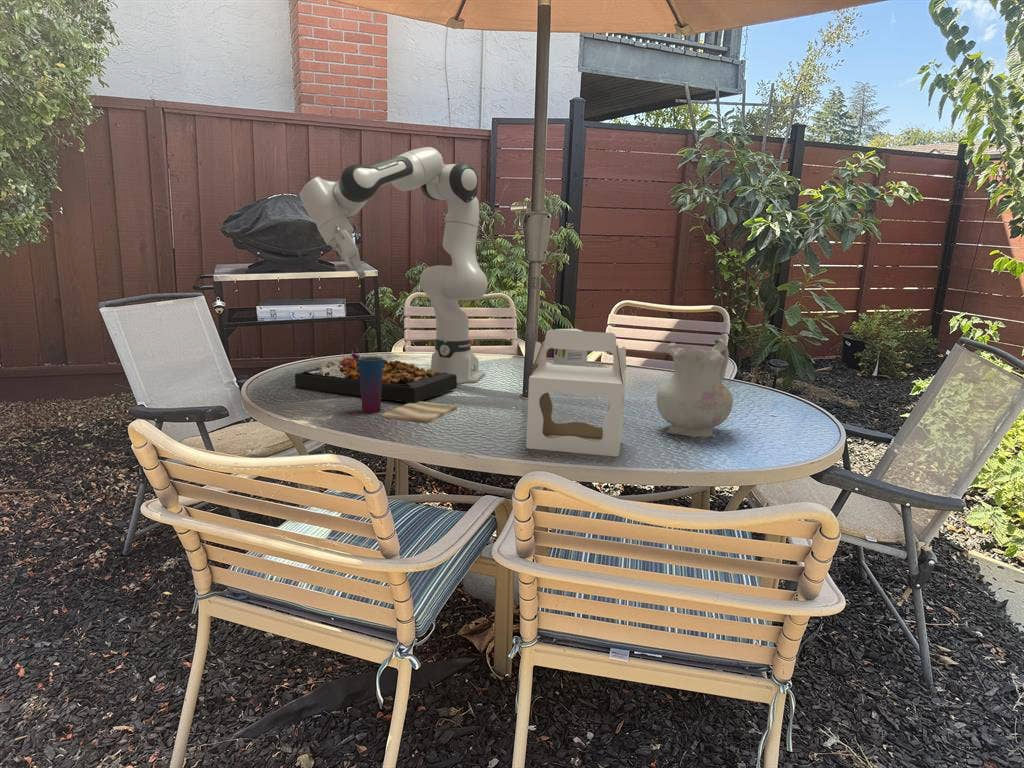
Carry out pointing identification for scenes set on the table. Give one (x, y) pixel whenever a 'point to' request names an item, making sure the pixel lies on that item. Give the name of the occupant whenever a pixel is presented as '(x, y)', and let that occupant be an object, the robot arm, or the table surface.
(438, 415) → the wooden board
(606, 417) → the gable box
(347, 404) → the table surface
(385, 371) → the food platter
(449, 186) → the robot arm
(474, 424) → the table surface
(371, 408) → the cup
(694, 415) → the ceramic pitcher
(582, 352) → the supplement box
